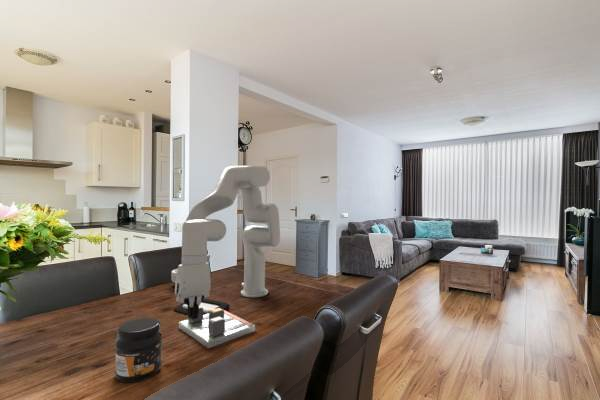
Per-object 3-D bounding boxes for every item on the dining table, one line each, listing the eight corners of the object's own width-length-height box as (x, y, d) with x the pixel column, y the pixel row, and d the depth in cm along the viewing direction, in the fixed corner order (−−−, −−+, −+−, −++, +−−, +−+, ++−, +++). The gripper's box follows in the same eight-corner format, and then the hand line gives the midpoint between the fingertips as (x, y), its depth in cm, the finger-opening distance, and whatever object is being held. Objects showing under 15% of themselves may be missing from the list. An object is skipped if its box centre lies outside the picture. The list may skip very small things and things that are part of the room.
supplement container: (111, 388, 70) (111, 336, 70) (117, 365, 80) (118, 320, 80) (161, 378, 74) (161, 329, 74) (162, 357, 84) (162, 314, 84)
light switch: (169, 307, 119) (195, 294, 132) (169, 314, 119) (196, 300, 132) (208, 316, 111) (232, 301, 123) (208, 323, 111) (233, 308, 123)
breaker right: (208, 333, 94) (208, 319, 94) (219, 329, 97) (219, 315, 97) (213, 336, 92) (213, 322, 92) (224, 332, 95) (225, 318, 95)
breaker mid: (208, 323, 102) (208, 310, 102) (219, 319, 105) (219, 307, 105) (213, 325, 100) (213, 312, 100) (224, 322, 103) (224, 309, 103)
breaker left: (187, 320, 104) (188, 307, 104) (198, 317, 107) (198, 305, 107) (191, 322, 102) (192, 310, 102) (203, 319, 105) (203, 307, 105)
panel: (178, 327, 104) (178, 321, 104) (222, 314, 116) (223, 309, 116) (208, 348, 89) (208, 340, 89) (254, 331, 102) (255, 324, 102)
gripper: (209, 255, 105) (208, 309, 104) (165, 260, 94) (164, 320, 94) (221, 258, 99) (220, 315, 99) (175, 264, 89) (174, 327, 88)
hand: (193, 317), depth 96 cm, fingers closed
